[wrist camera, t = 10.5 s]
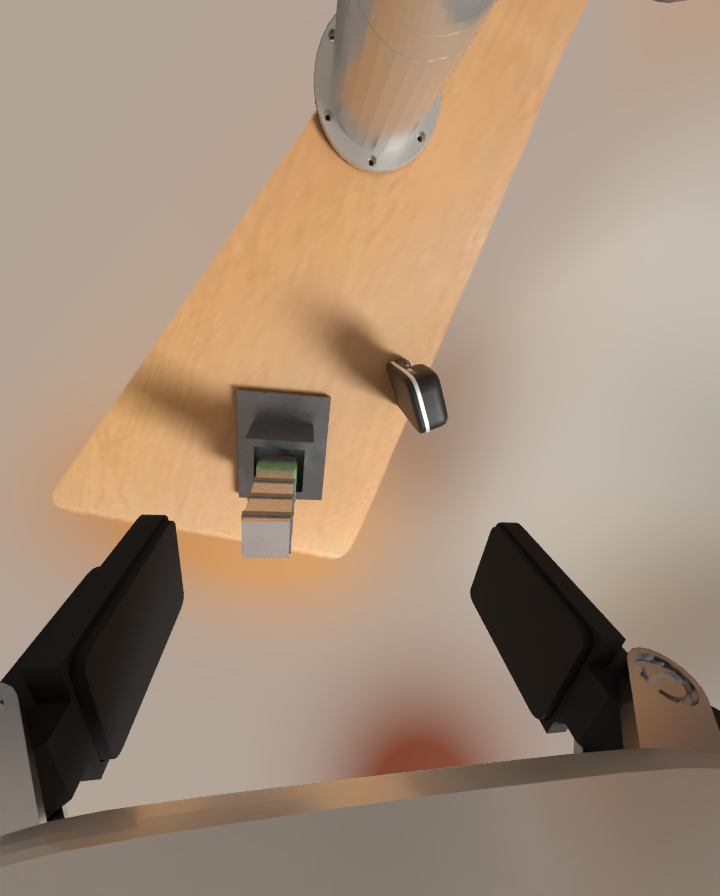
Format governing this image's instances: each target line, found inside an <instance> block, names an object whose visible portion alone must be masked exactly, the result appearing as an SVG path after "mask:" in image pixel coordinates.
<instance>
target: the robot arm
mask: <svg viewBox="0 0 720 896" xmlns="http://www.w3.org/2000/svg"><path fill="white" fill-rule="evenodd" d="M654 1H657V2H665V3H671V2H678V1H685V0H654ZM496 2H497V0H338V2H337V13H336V14H335V16H334V17H333V18H332V20H331V21H330V22H329V24H328V26H327V28H326V30H325V32H324V34H323V36H322V38H321V41H320V45H319V48H318V52H317V55H316V62H315V72H314V93H315V104H316V108H317V112H318V117H319V120H320V123H321V125H322V128H323V131H324V133H325V135H326V137H327V139H328V140H329V142H330V144H331V145H332V147H333V148H334V149H335V151H336V152H337V153H338V154H339V155H340V157H341V158H343V159H344V160H345V161H346V162H347V163H349V164H350V165H351V166H353V167H355V168H357V169H359V170H360V171H363V172H367V173H371V174H387V173H391V172H395V171H397V170H399V169H401V168H403V167H405V166H406V165H407V164H409V163H410V162H411V161H413V160H414V159H415V158H416V156H417V155H418V154H419V153H420V152H421V151H422V149H423V148H424V147H425V145H426V144H427V142H428V141H429V139H430V137H431V135H432V133H433V130H434V128H435V126H436V123H437V119H438V116H439V113H440V107H441V101H442V88H443V87H444V85H445V84H446V82H447V80H448V79H449V77H450V76H451V74H452V73H453V71H454V69H455V68H456V66H457V65H458V63H459V61H460V60H461V58H462V57H463V55H464V54H465V52H466V50H467V49H468V47H469V46H470V44H471V42H472V41H473V39H474V38H475V36H476V35H477V33H478V31H479V30H480V28H481V26H482V25H483V23H484V22H485V20H486V18H487V16H488V15H489V13H490V12H491V10H492V8H493V7H494V5H495V3H496ZM331 39H333V40H334V43H333V42H331V41H330V40H331ZM326 117H329V118H330V121H327V120H326V119H325V118H326ZM417 138H420V139H421V142H419V141H418V139H417ZM369 161H371V162H372V163H373V166H370V165H369ZM183 594H184V592H183V584H182V575H181V567H180V559H179V551H178V543H177V534H176V526H175V522H174V521H169V520H168V517H167V516H166V515H141V516H140V517H139V518H138V519H137V520H136V521H135V523H134V524H133V525H132V526H131V528H130V529H129V530H128V532H127V533H126V534H125V536H124V537H123V538H122V539H121V541H120V542H119V543H118V545H117V546H116V547H115V548H114V550H113V551H112V552H111V554H110V555H109V556H108V557H107V558H106V560H105V561H104V562H103V564H102V565H101V566H100V567H96V568H94V569H92V570H91V571H90V572H89V573H88V574H87V575H86V576H85V578H84V579H83V580H82V581H81V583H80V584H79V585H78V586H77V588H76V589H75V590H74V591H73V593H72V594H71V595H70V597H69V598H68V599H67V600H66V602H64V604H63V605H62V606H61V607H60V609H59V610H58V611H57V613H56V614H55V615H54V616H53V617H52V619H51V620H50V621H49V622H48V624H47V625H46V626H45V627H44V628H43V630H42V631H41V632H40V633H39V635H38V636H37V637H36V638H35V640H34V641H33V642H32V643H31V645H30V646H29V647H28V648H27V650H26V651H25V652H24V653H23V654H22V656H21V657H20V658H19V659H18V661H17V662H16V663H15V664H14V666H13V667H12V668H11V669H10V671H9V672H8V673H7V674H6V676H5V677H4V678H3V679H2V681H1V682H0V896H720V711H719V710H717V709H716V708H714V707H712V706H711V705H710V703H709V700H708V698H707V696H706V694H705V692H704V690H703V688H702V687H701V686H700V685H699V684H698V682H697V681H696V680H695V679H694V678H693V677H692V676H691V675H690V674H689V673H688V672H687V671H686V670H685V669H684V668H682V667H681V666H679V665H678V664H677V663H675V662H674V661H673V660H671V659H669V658H668V657H666V656H664V655H662V654H660V653H658V652H656V651H653V650H651V649H647V648H641V647H637V648H632V649H631V650H630V651H629V652H628V653H627V652H626V651H625V650H624V649H623V648H622V645H623V643H624V642H625V640H626V639H625V638H624V637H623V636H622V635H621V634H620V633H619V631H618V630H617V629H616V628H615V627H614V626H613V625H612V624H611V623H610V622H609V621H608V620H607V618H606V617H605V616H604V615H603V614H602V613H601V612H600V611H599V610H598V609H597V608H596V607H595V605H594V604H593V603H592V602H591V601H590V600H589V599H588V598H587V597H586V596H585V595H584V593H583V592H582V591H581V590H580V589H579V588H578V587H577V586H576V585H575V584H574V582H573V581H572V580H571V579H570V578H569V577H568V576H567V575H566V574H565V573H564V572H563V571H562V569H561V568H560V567H559V566H558V565H557V564H556V563H555V562H554V561H553V560H552V559H551V557H549V555H548V554H547V553H546V552H545V551H544V550H543V549H542V548H541V547H540V546H539V544H538V543H537V542H536V541H535V540H534V539H533V538H532V537H531V536H530V535H529V534H528V532H527V531H526V530H525V529H524V528H523V527H522V526H521V525H520V524H518V523H505V522H501V523H498V524H497V525H496V527H493V528H492V530H491V532H490V535H489V538H488V541H487V544H486V546H485V549H484V552H483V555H482V558H481V561H480V564H479V566H478V569H477V572H476V575H475V578H474V581H473V584H472V587H471V591H470V594H471V599H472V602H473V604H474V605H475V608H476V609H477V611H478V613H479V615H480V617H481V619H482V621H483V623H484V625H485V626H486V628H487V630H488V632H489V634H490V636H491V638H492V639H493V642H494V643H495V645H496V647H497V649H498V651H499V653H500V655H501V657H502V658H503V660H504V662H505V664H506V666H507V668H508V670H509V672H510V674H511V675H512V677H513V679H514V681H515V683H516V685H517V687H518V689H519V691H520V692H521V694H522V696H523V698H524V700H525V702H526V704H527V706H528V708H529V710H530V711H531V713H532V714H533V715H534V717H535V718H537V719H539V720H540V722H541V724H542V725H543V727H544V729H545V731H546V733H557V732H566V730H567V729H569V730H570V732H571V734H572V735H573V737H574V754H566V755H558V756H548V757H540V758H530V759H521V760H511V761H502V762H494V763H484V764H475V765H467V766H458V767H449V768H440V769H431V770H423V771H414V772H406V773H397V774H388V775H380V776H371V777H362V778H354V779H345V780H336V781H329V782H320V783H312V784H304V785H296V786H287V787H279V788H271V789H263V790H255V791H246V792H238V793H230V794H221V795H213V796H206V797H197V798H190V799H183V800H177V801H170V802H162V803H156V804H148V805H141V806H134V807H127V808H120V809H113V810H107V811H101V812H95V813H90V814H85V815H80V816H75V817H70V818H68V813H67V809H66V803H67V802H68V801H70V800H71V799H72V797H73V795H74V793H75V791H76V789H77V787H78V784H79V782H80V781H87V780H96V779H101V777H102V775H103V773H104V771H105V768H106V766H107V764H108V761H109V759H115V758H117V757H118V755H119V754H120V752H121V750H122V748H123V746H124V743H125V741H126V739H127V736H128V734H129V732H130V729H131V727H132V724H133V722H134V720H135V717H136V715H137V713H138V710H139V708H140V705H141V703H142V700H143V698H144V696H145V693H146V691H147V689H148V686H149V684H150V681H151V679H152V677H153V674H154V672H155V669H156V667H157V665H158V662H159V660H160V657H161V655H162V653H163V650H164V648H165V646H166V643H167V641H168V638H169V636H170V634H171V631H172V629H173V626H174V624H175V621H176V619H177V617H178V614H179V612H180V610H181V607H182V603H183V598H184V595H183Z"/></svg>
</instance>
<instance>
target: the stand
mask: <svg viewBox="0 0 720 896" xmlns="http://www.w3.org/2000/svg"><path fill="white" fill-rule="evenodd" d="M236 396H237V435H238V473H239V497H242V498H248V493H251V490H252V487H253V477H256V466H257V463H258V461H261V458H262V455H273V456H292V457H296V463H297V479H296V496H295V499H306V500H321V499H322V488H323V477H324V466H325V455H326V444H327V433H328V422H329V411H330V400H331V397H330V396H320V395H309V394H297V393H285V392H274V391H262V390H250V389H239V388H238V389H237V390H236Z"/></svg>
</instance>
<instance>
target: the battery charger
mask: <svg viewBox="0 0 720 896" xmlns="http://www.w3.org/2000/svg"><path fill="white" fill-rule="evenodd" d="M386 367H387V370H388V374H389V377H390V380H391V384H392V387H393V390H394V394H395V397H396V400H397V404H398V406H399V408H400V409H401V410H402V412H403V413H404V414H405V416H406V417H407V418H408V420H409V421H410V422H411V424H412V425H413V426H414V427H415V429H416V430H417V431H418V432H419V433H424V432H425V433H426V432H429V431H430V430H432V429H435V428H438V427H440V426H442V425H444V424H445V423H446V421H447V411H446V406H445V401H444V397H443V393H442V389H441V384H440V381H439V378H438V376H437V375H436V373H435V372H434V371H433V370H431V369H430V368H429V367H427V366H425V365H423V364H418V365H414V366H412V367H411V365H410V362H409V361H408V360H406V359H400V360H396V361H391V362H390V363H388V364H387V365H386Z"/></svg>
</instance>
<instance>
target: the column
mask: <svg viewBox="0 0 720 896" xmlns="http://www.w3.org/2000/svg"><path fill="white" fill-rule="evenodd" d="M296 479H297V463H296V457H292V456H273V455H262V458H261V461H258V463H257V466H256V477H253V487H252V490H251V493H248V503H247V506H246V510H245V511H243V512H242V551H243V552H242V553H243V558H288V556H289V554H290V553H291V536H292V528H293V516H294V502H295V496H296Z"/></svg>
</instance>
